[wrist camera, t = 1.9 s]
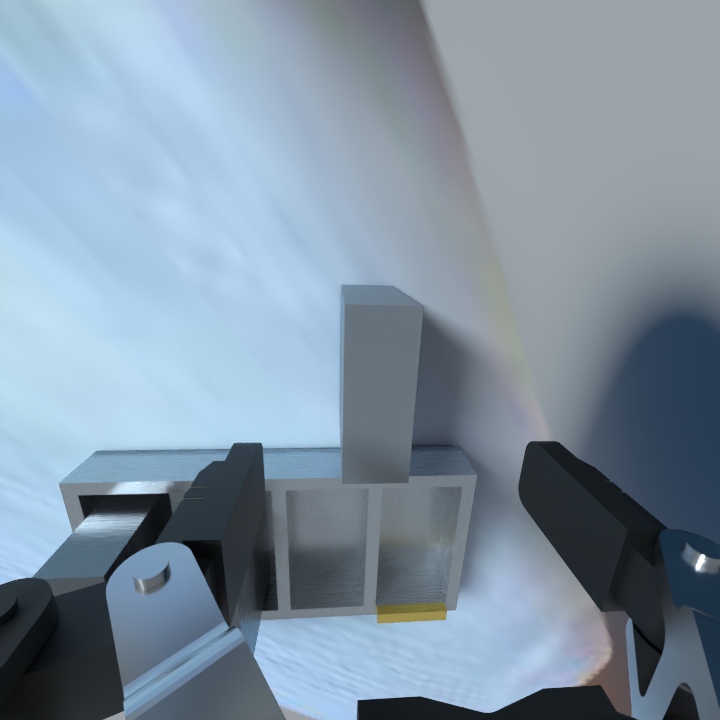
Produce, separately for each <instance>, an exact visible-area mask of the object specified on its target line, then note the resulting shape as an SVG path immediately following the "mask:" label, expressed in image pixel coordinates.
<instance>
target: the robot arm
mask: <svg viewBox="0 0 720 720" xmlns="http://www.w3.org/2000/svg"><path fill="white" fill-rule="evenodd" d="M519 496H520V500H521V502H522V504H523V506H524V508H525V509H526V510H527V512H528V513H529V514H530V516H531V517H532V518H533V520H534V521H535V523H536V524H537V525H538V527H539V528H540V529H541V531H542V532H543V533H544V535H545V536H546V537H547V539H548V540H549V541H550V543H551V544H552V546H553V547H554V548H555V550H556V551H557V552H558V554H559V555H560V556H561V558H562V559H563V560H564V562H565V563H566V565H567V566H568V567H569V569H570V570H571V571H572V573H573V574H574V575H575V577H576V578H577V579H578V581H579V582H580V583H581V585H582V586H583V588H584V589H585V590H586V592H587V593H588V594H589V596H590V597H591V598H592V600H593V601H594V602H595V604H596V605H597V607H598V608H599V609H600V611H601V612H609V611H625V612H626V613H627V614H628V616H629V620H628V623H627V626H626V637H627V638H626V639H627V652H628V664H629V677H630V690H631V702H632V717H630V716H628V715H625V714H622V713H620V712H617V711H616V710H615V708H614V706H613V705H612V703H611V702H610V700H609V698H608V697H607V695H606V693H605V692H604V690H603V688H602V687H601V685H596V686H579V687H563V688H547V689H542V690H540V691H537V692H535V693H533V694H531V695H529V696H527V697H525V698H523V699H521V700H519V701H516V702H514V703H512V704H510V705H508V706H506V707H504V708H502V709H500V710H498V711H495V712H492V713H483V712H479V711H475V710H471V709H467V708H463V707H459V706H455V705H451V704H447V703H444V702H440V701H436V700H432V699H428V698H424V697H420V696H419V697H403V698H387V699H371V700H358V705H357V720H720V544H718V543H716V542H714V541H712V540H710V539H708V538H706V537H704V536H701V535H698V534H696V533H693V532H689V531H685V530H681V529H668V528H667V527H666V526H664V525H663V524H662V523H661V522H660V521H658V520H657V519H656V518H655V517H654V516H652V515H651V514H650V513H649V512H648V511H646V510H645V509H644V508H643V507H642V506H640V505H639V504H638V503H637V502H636V501H634V500H633V499H632V498H631V497H630V496H628V495H627V494H626V493H623V492H622V490H621V489H620V488H619V487H618V486H616V485H615V484H614V483H613V482H610V480H609V479H608V478H607V477H606V476H604V475H603V474H602V473H601V472H600V471H598V470H597V469H596V468H595V467H593V466H591V465H589V464H587V463H585V462H583V461H582V460H580V459H578V458H577V457H575V456H574V455H573V454H572V453H571V452H570V451H568V450H567V449H566V448H565V447H564V446H563V445H561V444H560V443H559V442H556V441H532V442H529V443H528V445H527V447H526V450H525V455H524V460H523V465H522V470H521V475H520V480H519ZM264 503H265V475H264V458H263V446H262V444H261V443H234V444H233V446H232V448H231V450H230V452H229V453H228V455H227V457H226V459H225V461H213V462H212V463H210V464H209V465H208V466H206V467H205V468H204V469H203V470H201V471H200V472H199V473H198V475H197V476H196V478H195V479H194V481H193V483H192V484H191V487H190V489H188V491H187V492H186V494H185V496H184V497H183V500H181V502H180V504H179V505H178V507H177V509H176V510H175V512H174V513H173V515H172V517H171V518H170V520H169V521H168V523H167V525H166V526H165V528H164V529H163V531H162V533H161V534H160V536H159V538H158V539H157V541H156V542H155V544H154V545H153V546H150V547H147V548H145V549H143V550H141V551H139V552H137V553H135V554H134V555H132V556H130V557H129V558H128V559H127V560H125V561H124V562H123V563H122V564H121V565H120V566H119V567H118V568H117V569H116V570H115V571H114V573H113V574H112V576H111V577H110V579H109V580H108V581H105V582H102V583H99V584H96V585H92V586H89V587H85V588H82V589H78V590H75V591H71V592H68V593H64V594H61V595H57V596H54V595H53V592H52V589H51V586H50V584H49V583H48V582H47V581H45V580H43V579H40V578H24V579H18V580H14V581H11V582H8V583H5V584H2V585H0V720H103V719H105V718H108V717H110V716H113V715H115V714H117V713H120V712H122V711H124V712H125V718H126V720H286V719H285V717H284V715H283V713H282V711H281V709H280V707H279V705H278V703H277V701H276V699H275V697H274V695H273V693H272V691H271V689H270V687H269V685H268V683H267V681H266V679H265V677H264V675H263V673H262V672H261V670H260V668H259V666H258V664H257V662H256V660H255V658H254V656H253V654H252V652H251V650H250V648H249V646H248V644H247V642H246V640H245V638H244V636H243V635H242V633H241V631H240V630H239V629H238V628H237V627H236V626H232V627H231V624H232V620H233V616H234V613H235V609H236V606H237V602H238V599H239V595H240V591H241V588H242V584H243V581H244V577H245V574H246V570H247V567H248V563H249V559H250V556H251V552H252V549H253V545H254V542H255V538H256V534H257V531H258V527H259V524H260V520H261V517H262V513H263V509H264ZM229 627H231V628H229Z"/></svg>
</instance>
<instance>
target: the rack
mask: <svg viewBox="0 0 720 720" xmlns="http://www.w3.org/2000/svg"><path fill="white" fill-rule="evenodd" d="M230 450H231V449H209V450H136V451H96V452H95V453H94V454H92V455H91V456H90V457H89V458H88V459H87V460H85V461H84V462H83V463H82V464H81V465H80V466H78V467H77V468H76V469H75V470H74V471H73V472H71V473H70V474H69V475H68V476H67V477H66V478H65V479H63V480H62V481H61V482H60V483H59V486H60V489H61V493H62V496H63V500H64V503H65V507H66V510H67V514H68V517H69V521H70V524H71V528H72V531H73V533H72V534H71V535H70V537H69V538H68V539H67V540H66V541H65V542H64V543H63V544H62V545H61V546H60V547H59V549H58V550H57V551H56V552H55V553H54V554H53V555H52V556H51V557H50V558H49V560H48V561H47V562H46V563H45V564H44V565H43V566H42V567H41V568H40V569H39V571H38V572H37V573H36V574H35V575H34V576H33V577H32V578H40V579H43V580H45V581H47V582H48V583H49V584H50V586H51V589H52V592H53V595H54V596H57V595H61V594H64V593H68V592H71V591H75V590H78V589H82V588H85V587H89V586H92V585H96V584H99V583H102V582H105V581H108V580H109V579H110V577H111V576H112V574H113V573H114V571H115V570H116V569H117V568H118V567H119V566H120V565H121V564H122V563H123V562H124V561H125V560H127V559H128V558H129V557H130V556H132V555H134V554H135V553H137V552H139V551H141V550H143V549H145V548H147V547H150V546H153V545H154V544H155V542H156V541H157V539H158V538H159V536H160V534H161V533H162V531H163V529H164V528H165V526H166V525H167V523H168V521H169V520H170V518H171V517H172V515H173V513H174V512H175V510H176V509H177V507H178V505H179V504H180V502H181V500H183V497H184V496H185V494H186V492H187V491H188V489H190V487H191V484H192V483H193V481H194V479H195V478H196V476H197V475H198V473H199V472H200V471H201V470H203V469H204V468H205V467H206V466H208V465H209V464H210V463H212V462H213V461H225V459H226V457H227V455H228V453H229V452H230ZM263 458H264V475H265V503H264V509H263V513H262V517H261V520H260V524H259V527H258V531H257V534H256V538H255V542H254V545H253V549H252V552H251V556H250V559H249V563H248V567H247V570H246V574H245V577H244V581H243V584H242V588H241V591H240V595H239V599H238V602H237V606H236V609H235V613H234V616H233V620H232V624H231V627H232V626H236V627H237V628H238V629H239V630H240V631H241V633H242V635H243V636H244V638H245V640H246V642H247V644H248V646H249V648H250V650H251V652H252V654H253V656H254V650H255V645H256V640H257V635H258V630H259V625H260V620H272V619H292V618H311V617H331V616H351V615H370V614H376V615H377V623H394V622H412V621H431V620H446V614H447V611H448V610H456V606H457V599H458V593H459V587H460V581H461V574H462V568H463V562H464V555H465V549H466V543H467V537H468V530H469V524H470V518H471V512H472V505H473V499H474V493H475V487H476V480H477V474H476V472H475V470H474V469H473V467H472V466H471V464H470V462H469V461H468V459H467V458H466V456H465V454H464V453H463V451H462V450H461V448H460V446H429V447H412V448H411V459H410V471H409V482H408V483H384V484H342V473H341V448H283V449H263ZM231 627H229V628H231Z"/></svg>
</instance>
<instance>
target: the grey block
mask: <svg viewBox="0 0 720 720" xmlns="http://www.w3.org/2000/svg"><path fill="white" fill-rule="evenodd" d="M423 310H424V306H423V305H422V304H420V303H419V302H417V301H416V300H414V299H413V298H411V297H410V296H408V295H406V294H405V293H403V292H402V291H400V290H399V289H397V288H396V287H394V286H367V285H341V330H340V410H339V414H340V443H341V473H342V484H384V483H408V482H409V471H410V459H411V448H412V436H413V425H414V413H415V402H416V390H417V379H418V367H419V356H420V344H421V333H422V321H423Z"/></svg>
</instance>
